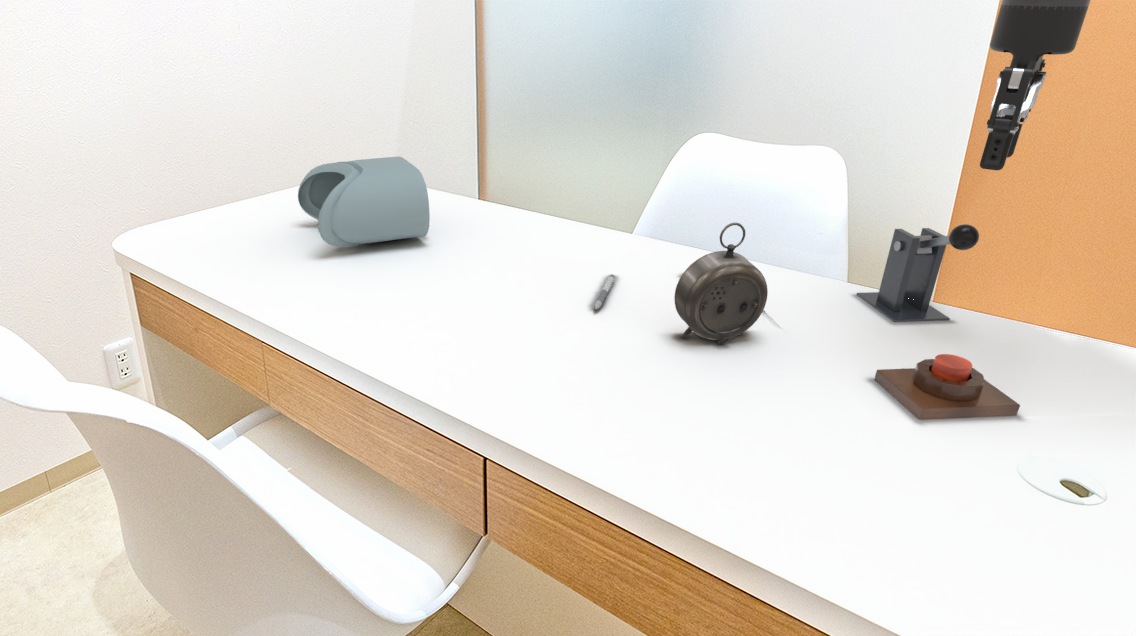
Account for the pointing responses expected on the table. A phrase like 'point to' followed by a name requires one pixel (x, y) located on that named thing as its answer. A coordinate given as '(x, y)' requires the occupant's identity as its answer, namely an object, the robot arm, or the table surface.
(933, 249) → the switch bracket
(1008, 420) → the table surface
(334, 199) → the grey hollow curved shell
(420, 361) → the table surface
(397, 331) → the table surface
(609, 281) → the pen
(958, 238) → the lever
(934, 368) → the button
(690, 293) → the alarm clock
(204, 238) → the table surface
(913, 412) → the switch block
